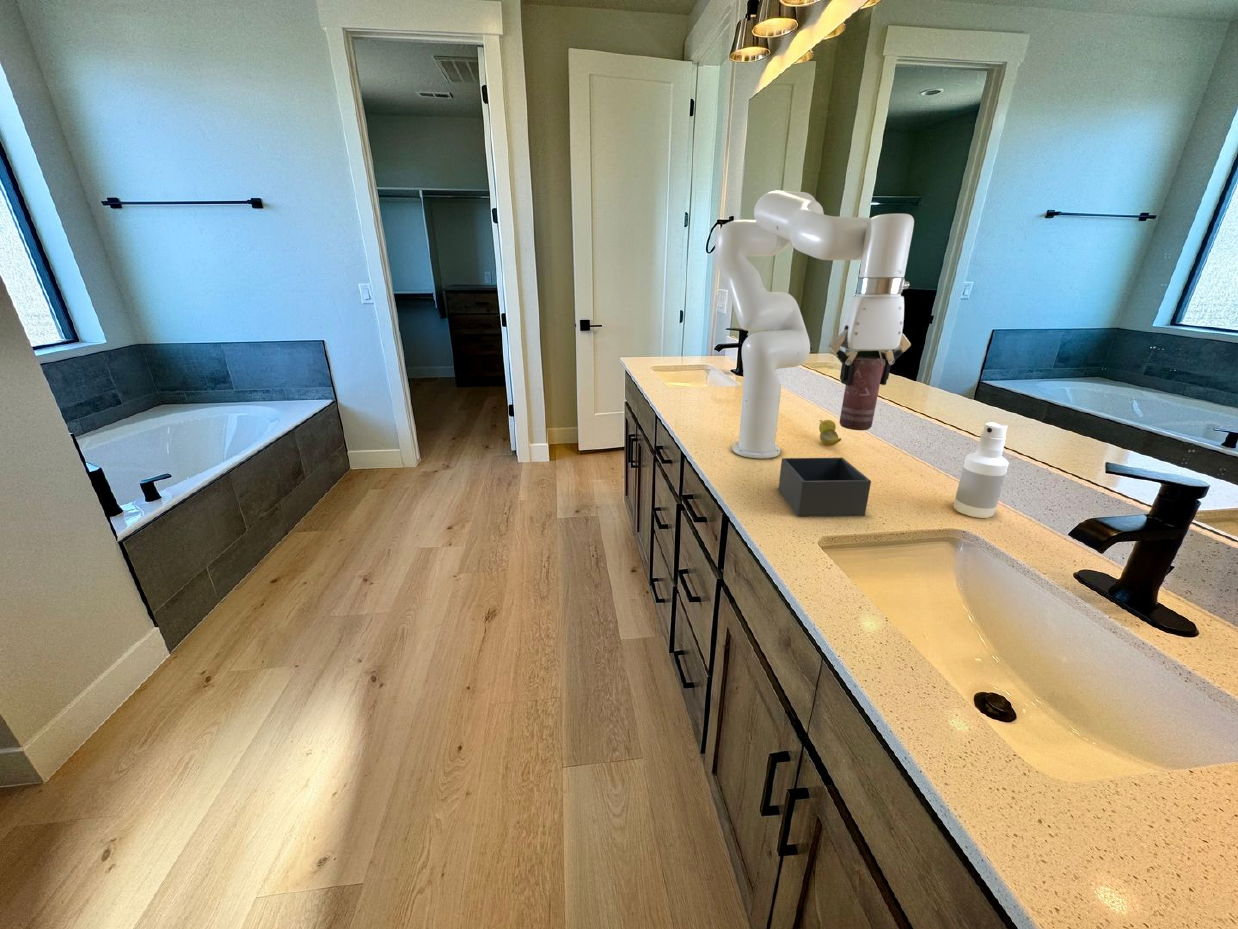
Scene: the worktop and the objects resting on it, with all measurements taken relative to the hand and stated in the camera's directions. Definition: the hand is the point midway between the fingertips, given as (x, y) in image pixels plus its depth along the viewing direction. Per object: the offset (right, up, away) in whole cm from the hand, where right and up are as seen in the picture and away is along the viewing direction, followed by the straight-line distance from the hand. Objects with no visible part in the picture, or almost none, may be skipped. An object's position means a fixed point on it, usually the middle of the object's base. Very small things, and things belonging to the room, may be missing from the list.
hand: (863, 383), depth 98 cm
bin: (-7, -24, +6) cm, 26 cm away
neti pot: (+10, -11, +40) cm, 43 cm away
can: (0, -9, +3) cm, 9 cm away
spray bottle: (+22, -26, +1) cm, 34 cm away
